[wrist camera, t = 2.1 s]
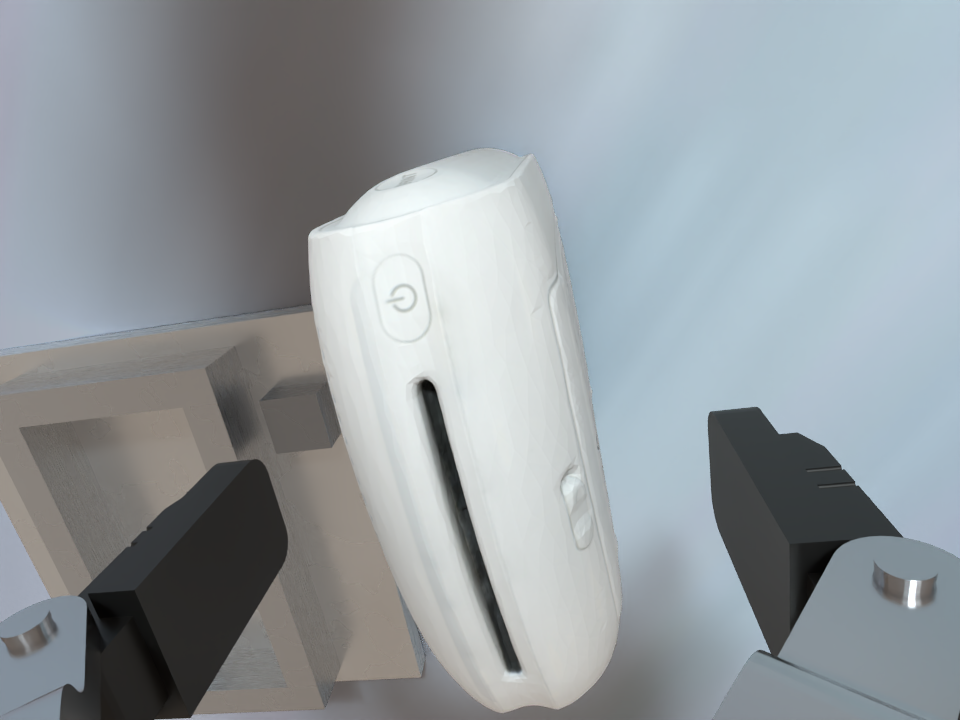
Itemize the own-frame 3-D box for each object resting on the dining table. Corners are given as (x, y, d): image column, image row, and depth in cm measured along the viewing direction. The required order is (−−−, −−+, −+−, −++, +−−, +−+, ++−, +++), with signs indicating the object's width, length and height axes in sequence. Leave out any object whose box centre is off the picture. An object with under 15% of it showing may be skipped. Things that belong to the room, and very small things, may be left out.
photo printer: (404, 163, 19) (194, 233, 8) (540, 127, 18) (531, 146, 7) (484, 450, 23) (420, 793, 11) (601, 430, 22) (663, 776, 10)
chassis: (-45, 356, 23) (-125, 388, 21) (331, 301, 21) (298, 329, 18) (114, 674, 29) (68, 733, 26) (425, 657, 27) (411, 721, 24)
